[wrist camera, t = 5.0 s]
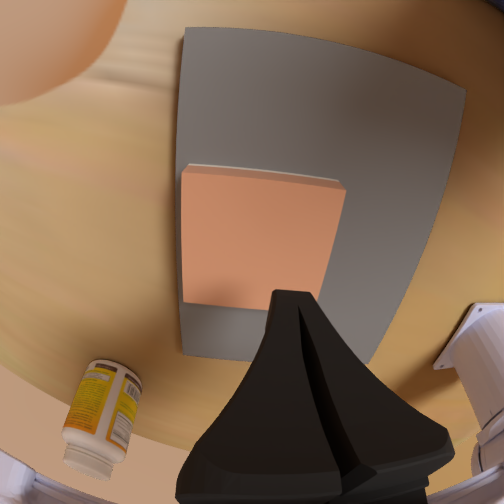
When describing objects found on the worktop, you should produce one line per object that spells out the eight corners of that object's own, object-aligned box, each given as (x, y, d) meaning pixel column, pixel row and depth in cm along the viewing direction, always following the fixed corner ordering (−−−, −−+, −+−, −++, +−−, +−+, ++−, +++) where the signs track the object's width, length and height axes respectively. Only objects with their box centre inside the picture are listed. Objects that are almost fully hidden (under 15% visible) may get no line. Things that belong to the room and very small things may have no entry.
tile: (346, 190, 12) (181, 172, 12) (313, 313, 16) (183, 301, 16) (337, 179, 13) (189, 163, 13) (309, 295, 17) (188, 284, 17)
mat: (458, 88, 11) (466, 90, 10) (365, 356, 21) (368, 363, 21) (189, 30, 10) (185, 27, 10) (184, 346, 21) (183, 354, 20)
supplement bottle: (82, 370, 24) (48, 457, 15) (100, 347, 22) (58, 452, 13) (129, 397, 26) (106, 485, 17) (154, 380, 24) (130, 484, 15)
